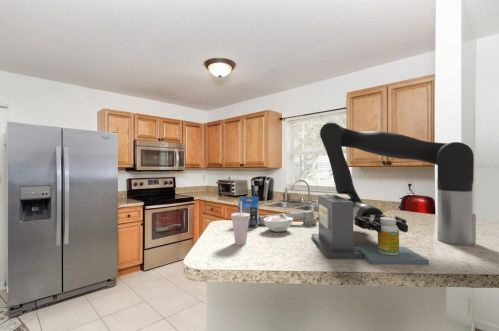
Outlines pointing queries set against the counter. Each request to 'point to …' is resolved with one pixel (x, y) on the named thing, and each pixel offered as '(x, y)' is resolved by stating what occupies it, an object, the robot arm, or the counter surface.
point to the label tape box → (250, 210)
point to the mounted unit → (336, 228)
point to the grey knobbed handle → (296, 217)
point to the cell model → (278, 222)
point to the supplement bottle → (388, 237)
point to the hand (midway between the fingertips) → (393, 228)
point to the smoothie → (240, 226)
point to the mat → (391, 256)
